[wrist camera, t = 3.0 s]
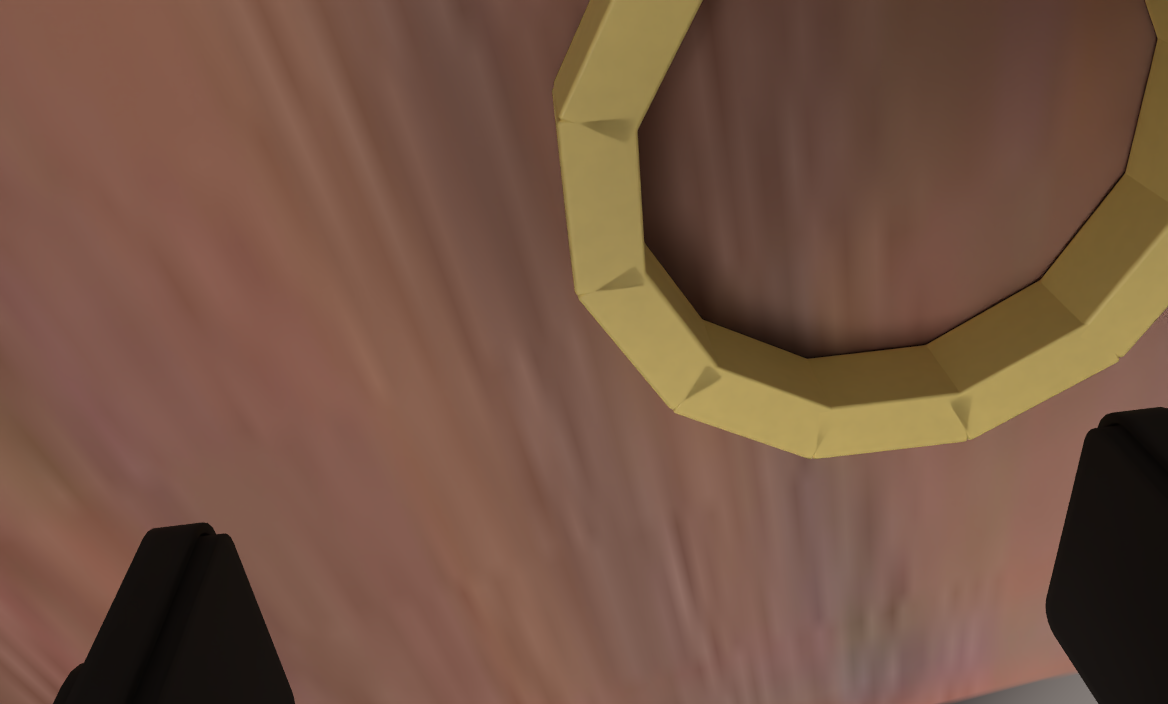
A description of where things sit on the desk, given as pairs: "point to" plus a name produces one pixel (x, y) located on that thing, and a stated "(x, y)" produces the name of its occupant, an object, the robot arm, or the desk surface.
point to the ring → (852, 381)
